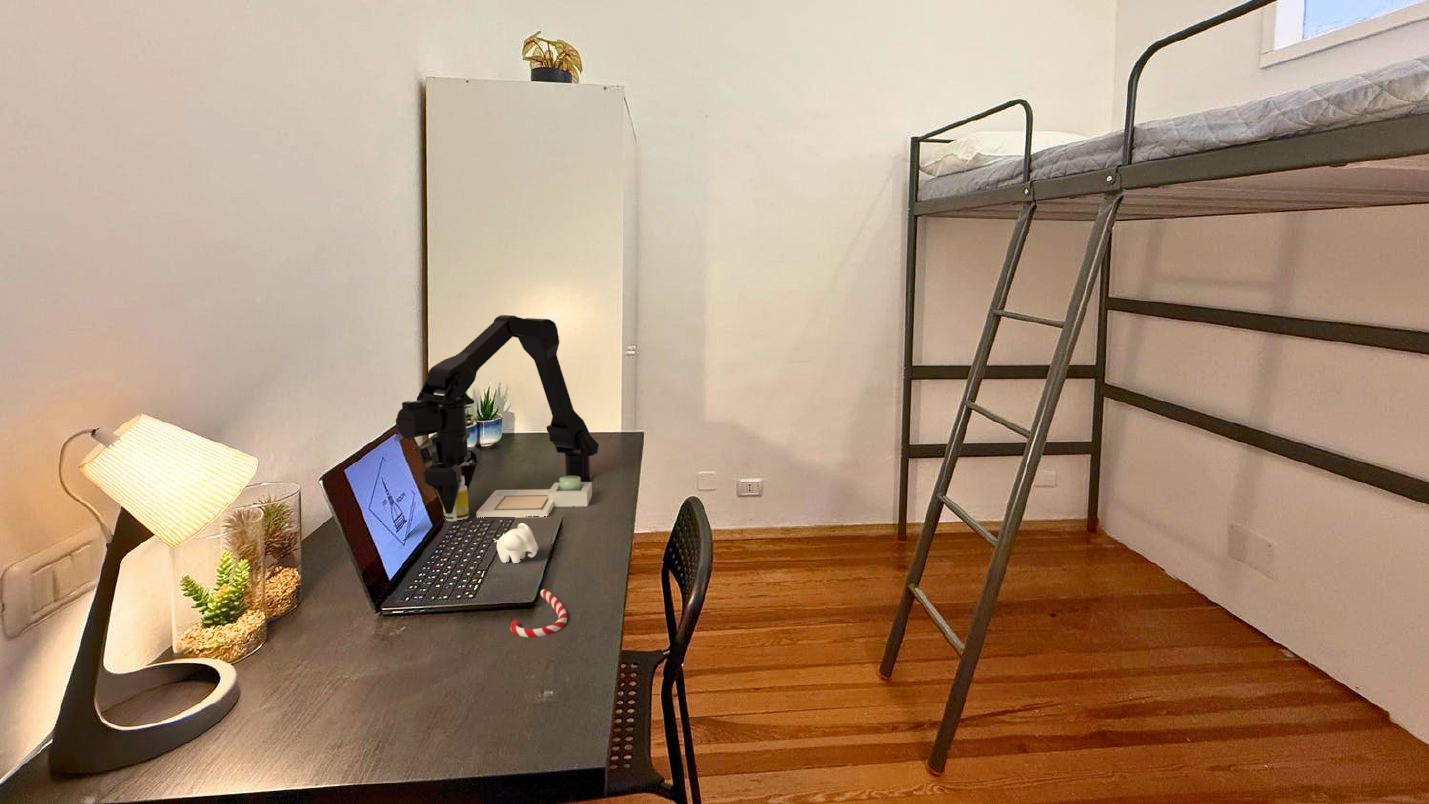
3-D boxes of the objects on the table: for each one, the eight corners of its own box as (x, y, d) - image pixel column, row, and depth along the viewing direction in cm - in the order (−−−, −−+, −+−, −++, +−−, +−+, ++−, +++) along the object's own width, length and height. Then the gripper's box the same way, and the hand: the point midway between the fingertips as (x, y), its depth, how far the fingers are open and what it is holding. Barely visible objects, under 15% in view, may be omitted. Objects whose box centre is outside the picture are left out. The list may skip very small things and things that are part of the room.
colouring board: (496, 495, 178) (495, 489, 178) (560, 494, 178) (560, 488, 178) (476, 517, 162) (476, 511, 162) (547, 517, 162) (547, 510, 162)
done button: (561, 486, 175) (561, 475, 175) (582, 486, 175) (581, 475, 175) (558, 492, 171) (557, 481, 170) (579, 491, 171) (578, 480, 170)
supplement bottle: (470, 514, 165) (468, 473, 163) (467, 521, 160) (465, 479, 159) (445, 515, 164) (443, 474, 162) (442, 522, 159) (439, 481, 158)
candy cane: (565, 585, 126) (567, 628, 111) (566, 594, 126) (568, 637, 111) (514, 590, 124) (509, 633, 110) (514, 598, 124) (509, 642, 110)
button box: (555, 495, 177) (554, 482, 177) (592, 495, 177) (591, 482, 177) (548, 506, 169) (548, 492, 169) (587, 506, 169) (586, 492, 169)
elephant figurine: (530, 569, 135) (529, 535, 134) (485, 566, 136) (483, 532, 135) (546, 555, 141) (544, 522, 140) (502, 552, 143) (501, 520, 142)
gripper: (425, 420, 168) (430, 493, 171) (392, 440, 150) (398, 521, 152) (479, 420, 168) (483, 493, 171) (453, 439, 150) (458, 521, 152)
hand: (455, 506), depth 162 cm, fingers open, 9 cm apart
